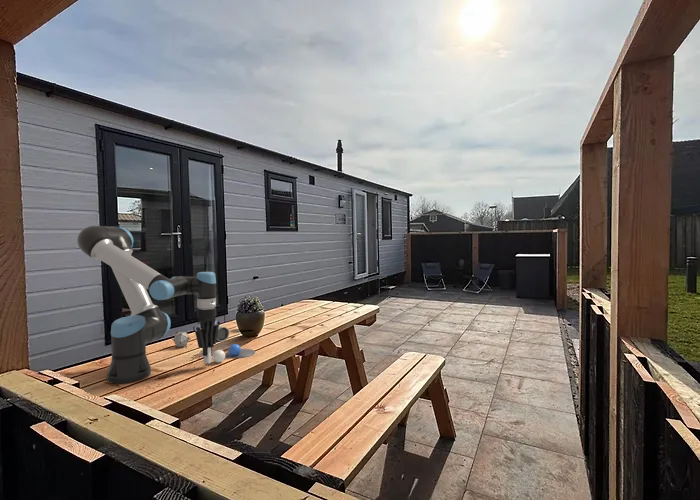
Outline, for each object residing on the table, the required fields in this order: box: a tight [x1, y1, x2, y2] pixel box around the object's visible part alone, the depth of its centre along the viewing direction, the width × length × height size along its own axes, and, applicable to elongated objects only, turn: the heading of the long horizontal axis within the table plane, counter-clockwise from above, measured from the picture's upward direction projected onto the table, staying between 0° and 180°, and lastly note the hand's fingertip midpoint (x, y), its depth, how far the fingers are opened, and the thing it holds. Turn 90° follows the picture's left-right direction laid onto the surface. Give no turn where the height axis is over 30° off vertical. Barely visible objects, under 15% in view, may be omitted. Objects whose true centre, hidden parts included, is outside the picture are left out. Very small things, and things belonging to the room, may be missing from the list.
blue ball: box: [228, 343, 242, 356], centre depth 169 cm, size 6×6×6 cm
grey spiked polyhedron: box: [171, 330, 191, 349], centre depth 184 cm, size 9×8×10 cm
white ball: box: [211, 349, 226, 363], centre depth 160 cm, size 6×6×6 cm
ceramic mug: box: [216, 325, 230, 342], centre depth 196 cm, size 11×8×8 cm
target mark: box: [224, 348, 256, 359], centre depth 172 cm, size 14×14×1 cm
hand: (207, 362), depth 154 cm, fingers closed
